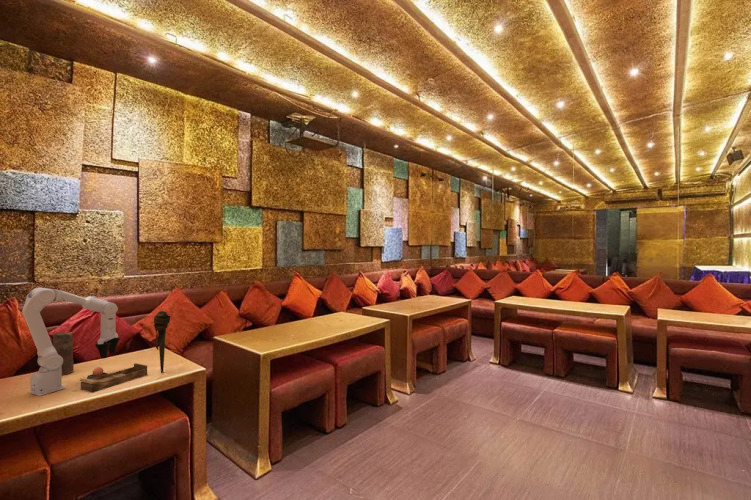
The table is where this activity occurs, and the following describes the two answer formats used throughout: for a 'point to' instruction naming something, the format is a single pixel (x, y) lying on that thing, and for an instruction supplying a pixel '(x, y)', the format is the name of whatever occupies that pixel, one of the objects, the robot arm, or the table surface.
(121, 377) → the lane
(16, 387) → the table surface
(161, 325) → the decorative torch
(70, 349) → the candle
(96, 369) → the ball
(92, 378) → the grey square tray
